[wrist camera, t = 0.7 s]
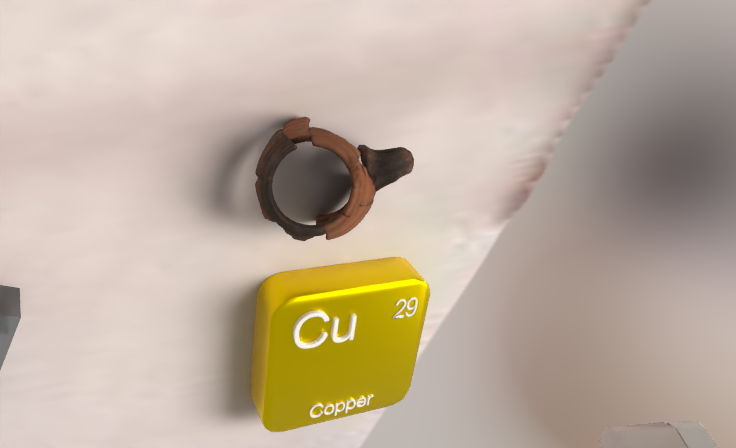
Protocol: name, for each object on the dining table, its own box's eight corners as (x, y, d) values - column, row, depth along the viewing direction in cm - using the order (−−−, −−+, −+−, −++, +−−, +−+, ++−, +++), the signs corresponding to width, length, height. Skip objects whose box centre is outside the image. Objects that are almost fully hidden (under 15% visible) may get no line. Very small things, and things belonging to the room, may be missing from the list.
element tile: (247, 405, 63) (263, 442, 60) (256, 272, 56) (274, 305, 53) (388, 374, 70) (410, 406, 66) (412, 251, 63) (438, 279, 59)
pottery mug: (289, 243, 56) (278, 269, 48) (244, 137, 55) (226, 146, 47) (423, 192, 56) (435, 210, 48) (383, 83, 54) (388, 83, 46)
